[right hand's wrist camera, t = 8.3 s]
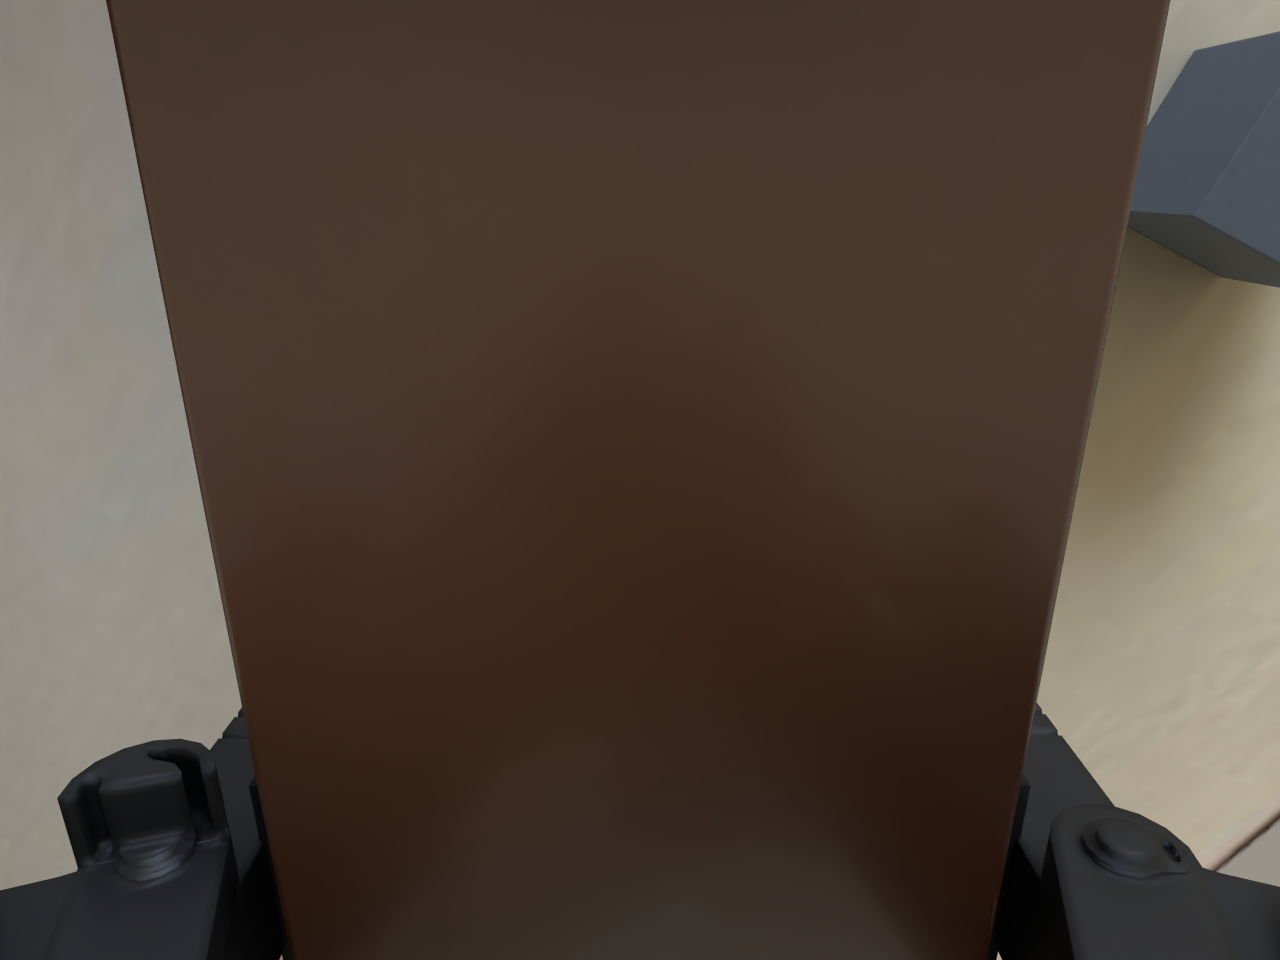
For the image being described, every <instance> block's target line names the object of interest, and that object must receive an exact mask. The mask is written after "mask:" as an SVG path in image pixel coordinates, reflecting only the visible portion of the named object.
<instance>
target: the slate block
mask: <svg viewBox="0 0 1280 960" xmlns="http://www.w3.org/2000/svg"><path fill="white" fill-rule="evenodd" d="M1127 227H1129V228H1131V229H1133V230H1135V231H1137V232H1139V233H1141V234H1142V235H1144V236H1146V237H1148V238H1150V239H1152V240H1154V241H1155V242H1157V243H1159V244H1161V245H1163V246H1165V247H1167V248H1168V249H1170V250H1172V251H1174V252H1176V253H1178V254H1180V255H1181V256H1183V257H1185V258H1187V259H1189V260H1191V261H1193V262H1195V263H1196V264H1198V265H1200V266H1202V267H1204V268H1206V269H1208V270H1209V271H1211V272H1213V273H1215V274H1217V275H1219V276H1221V277H1224V278H1230V279H1235V280H1241V281H1246V282H1252V283H1258V284H1263V285H1269V286H1275V287H1280V32H1275V33H1271V34H1266V35H1262V36H1257V37H1253V38H1248V39H1244V40H1239V41H1235V42H1230V43H1226V44H1221V45H1217V46H1212V47H1208V48H1203V49H1199V50H1195V51H1194V53H1193V54H1192V56H1191V58H1190V59H1189V61H1188V62H1187V64H1186V66H1185V67H1184V69H1183V70H1182V72H1181V74H1180V75H1179V77H1178V78H1177V80H1176V82H1175V83H1174V85H1173V86H1172V88H1171V90H1170V91H1169V93H1168V94H1167V96H1166V98H1165V99H1164V101H1163V102H1162V104H1161V106H1160V107H1159V109H1158V110H1157V112H1156V114H1155V115H1154V117H1153V118H1152V120H1151V122H1150V123H1149V125H1148V126H1147V128H1146V130H1145V135H1144V141H1143V146H1142V151H1141V156H1140V162H1139V167H1138V172H1137V177H1136V183H1135V188H1134V193H1133V198H1132V204H1131V209H1130V214H1129V219H1128V225H1127Z"/></svg>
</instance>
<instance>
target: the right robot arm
mask: <svg viewBox="0 0 1280 960" xmlns="http://www.w3.org/2000/svg"><path fill="white" fill-rule="evenodd" d="M57 799H58V802H59V806H60V809H61V812H62V816H63V819H64V823H65V826H66V829H67V833H68V836H69V839H70V843H71V846H72V849H73V853H74V856H75V860H76V863H77V866H78V870H77V872H74V873H70V874H67V875H64V876H60V877H57V878H52V879H48V880H44V881H39V882H35V883H31V884H27V885H22V886H18V887H14V888H9V889H5V890H1V891H0V960H279V959H280V957H281V955H282V957H283V960H291V957H290V952H289V947H288V942H287V936H286V931H285V926H284V921H283V916H282V910H281V905H280V900H279V895H278V890H277V884H276V879H275V874H274V869H273V864H272V858H271V853H270V848H269V843H268V838H267V833H266V827H265V822H264V817H263V812H262V807H261V801H260V796H259V791H258V786H257V781H256V775H255V770H254V765H253V760H252V755H251V749H250V744H249V739H248V734H247V729H246V723H245V718H244V713H243V708H241V709H240V711H239V712H238V717H234V719H233V720H232V721H231V723H230V724H229V725H228V727H227V728H226V729H225V731H224V732H223V736H222V739H218V740H217V741H216V743H215V744H214V745H213V747H212V748H211V749H210V750H209V749H207V748H206V747H205V746H204V745H203V744H201V743H197V742H193V741H188V740H183V739H171V740H155V741H150V742H147V743H143V744H139V745H136V746H132V747H128V748H124V749H122V750H120V751H118V752H116V753H114V754H111V755H109V756H107V757H105V758H103V759H101V760H99V761H96V762H95V763H93V764H92V765H91V766H89V767H88V768H87V769H85V770H84V771H83V772H81V773H80V774H78V775H77V776H76V777H74V778H73V779H72V780H71V781H70V782H69V784H68V785H67V786H66V788H65V789H64V790H63V791H62V793H61V794H60V795H59V797H58V798H57ZM998 952H999V954H1000V956H1001V958H1002V960H1280V887H1278V886H1273V885H1269V884H1265V883H1260V882H1256V881H1252V880H1247V879H1243V878H1239V877H1234V876H1230V875H1226V874H1222V873H1218V872H1215V871H1212V870H1208V869H1205V868H1202V866H1201V865H1200V863H1199V862H1198V860H1197V859H1196V857H1195V856H1194V854H1193V853H1192V851H1191V850H1190V848H1189V847H1188V846H1187V845H1186V844H1184V843H1183V842H1182V841H1181V840H1180V839H1178V838H1177V837H1176V836H1175V835H1174V834H1172V833H1171V832H1170V831H1169V830H1168V829H1166V828H1165V827H1163V826H1161V825H1159V824H1157V823H1155V822H1153V821H1151V820H1149V819H1148V818H1146V817H1144V816H1142V815H1140V814H1137V813H1134V812H1131V811H1127V810H1124V809H1121V808H1118V807H1115V806H1114V805H1113V803H1112V802H1111V801H1110V799H1109V798H1108V797H1107V796H1106V794H1105V793H1104V792H1103V790H1102V789H1101V788H1100V786H1099V785H1098V784H1097V782H1096V781H1095V780H1094V778H1093V777H1092V776H1091V774H1090V773H1089V772H1088V770H1087V769H1086V768H1085V766H1084V765H1083V764H1082V762H1081V761H1080V760H1079V758H1078V757H1077V756H1076V754H1075V753H1074V752H1073V750H1072V749H1071V748H1070V746H1069V745H1068V744H1067V742H1066V741H1065V740H1064V738H1063V737H1062V736H1058V733H1057V729H1056V728H1055V726H1054V725H1053V724H1052V722H1051V721H1050V720H1049V718H1048V717H1047V716H1046V714H1042V709H1041V708H1040V706H1039V705H1038V704H1037V702H1036V707H1035V712H1034V717H1033V722H1032V727H1031V733H1030V738H1029V743H1028V748H1027V754H1026V759H1025V764H1024V769H1023V775H1022V780H1021V785H1020V790H1019V796H1018V801H1017V806H1016V811H1015V817H1014V822H1013V827H1012V832H1011V837H1010V843H1009V848H1008V853H1007V858H1006V864H1005V869H1004V874H1003V879H1002V885H1001V890H1000V895H999V900H998V906H997V911H996V916H995V921H994V927H993V932H992V937H991V942H990V947H989V953H988V958H987V960H996V959H997V954H998Z"/></svg>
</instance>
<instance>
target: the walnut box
mask: <svg viewBox="0 0 1280 960" xmlns="http://www.w3.org/2000/svg"><path fill="white" fill-rule="evenodd" d="M106 2H107V7H108V12H109V17H110V23H111V28H112V33H113V38H114V43H115V48H116V54H117V59H118V64H119V69H120V74H121V80H122V85H123V90H124V95H125V100H126V106H127V111H128V116H129V121H130V126H131V132H132V137H133V142H134V147H135V152H136V158H137V163H138V168H139V173H140V178H141V183H142V189H143V194H144V199H145V204H146V209H147V215H148V220H149V225H150V230H151V235H152V241H153V246H154V251H155V256H156V261H157V267H158V272H159V277H160V282H161V287H162V293H163V298H164V303H165V308H166V313H167V318H168V324H169V329H170V334H171V339H172V344H173V350H174V355H175V360H176V365H177V370H178V376H179V381H180V386H181V391H182V396H183V402H184V407H185V412H186V417H187V422H188V428H189V433H190V438H191V443H192V448H193V453H194V459H195V464H196V469H197V474H198V479H199V485H200V490H201V495H202V500H203V505H204V511H205V516H206V521H207V526H208V531H209V537H210V542H211V547H212V552H213V557H214V563H215V568H216V573H217V578H218V583H219V588H220V594H221V599H222V604H223V609H224V614H225V620H226V625H227V630H228V635H229V640H230V646H231V651H232V656H233V661H234V666H235V672H236V677H237V682H238V687H239V692H240V698H241V703H242V708H243V713H244V718H245V723H246V729H247V734H248V739H249V744H250V749H251V755H252V760H253V765H254V770H255V775H256V781H257V786H258V791H259V796H260V801H261V807H262V812H263V817H264V822H265V827H266V833H267V838H268V843H269V848H270V853H271V858H272V864H273V869H274V874H275V879H276V884H277V890H278V895H279V900H280V905H281V910H282V916H283V921H284V926H285V931H286V936H287V942H288V947H289V952H290V957H291V960H987V958H988V953H989V947H990V942H991V937H992V932H993V927H994V921H995V916H996V911H997V906H998V900H999V895H1000V890H1001V885H1002V879H1003V874H1004V869H1005V864H1006V858H1007V853H1008V848H1009V843H1010V837H1011V832H1012V827H1013V822H1014V817H1015V811H1016V806H1017V801H1018V796H1019V790H1020V785H1021V780H1022V775H1023V769H1024V764H1025V759H1026V754H1027V748H1028V743H1029V738H1030V733H1031V727H1032V722H1033V717H1034V712H1035V707H1036V701H1037V696H1038V691H1039V686H1040V680H1041V675H1042V670H1043V665H1044V659H1045V654H1046V649H1047V644H1048V638H1049V633H1050V628H1051V623H1052V617H1053V612H1054V607H1055V602H1056V596H1057V591H1058V586H1059V581H1060V576H1061V570H1062V565H1063V560H1064V555H1065V549H1066V544H1067V539H1068V534H1069V528H1070V523H1071V518H1072V513H1073V507H1074V502H1075V497H1076V492H1077V486H1078V481H1079V476H1080V471H1081V466H1082V460H1083V455H1084V450H1085V445H1086V439H1087V434H1088V429H1089V424H1090V418H1091V413H1092V408H1093V403H1094V397H1095V392H1096V387H1097V382H1098V376H1099V371H1100V366H1101V361H1102V355H1103V350H1104V345H1105V340H1106V335H1107V329H1108V324H1109V319H1110V314H1111V308H1112V303H1113V298H1114V293H1115V287H1116V282H1117V277H1118V272H1119V266H1120V261H1121V256H1122V251H1123V245H1124V240H1125V235H1126V230H1127V225H1128V219H1129V214H1130V209H1131V204H1132V198H1133V193H1134V188H1135V183H1136V177H1137V172H1138V167H1139V162H1140V156H1141V151H1142V146H1143V141H1144V135H1145V130H1146V125H1147V120H1148V114H1149V109H1150V104H1151V99H1152V94H1153V88H1154V83H1155V78H1156V73H1157V67H1158V62H1159V57H1160V52H1161V46H1162V41H1163V36H1164V31H1165V25H1166V20H1167V15H1168V10H1169V4H1170V0H106Z"/></svg>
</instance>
